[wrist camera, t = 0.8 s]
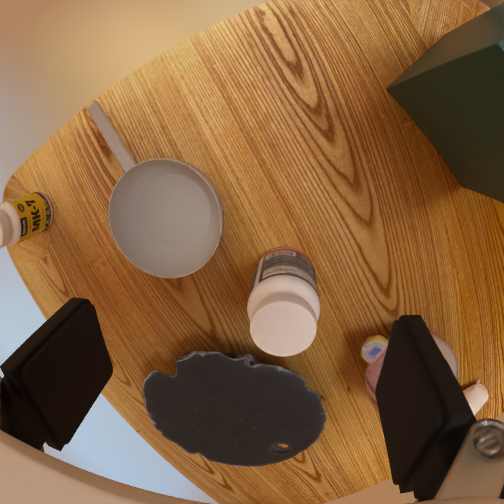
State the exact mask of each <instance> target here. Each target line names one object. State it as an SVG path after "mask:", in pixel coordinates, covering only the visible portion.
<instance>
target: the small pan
mask: <svg viewBox="0 0 504 504" xmlns="http://www.w3.org/2000/svg"><path fill="white" fill-rule="evenodd" d="M88 111H89V114H90V115H91V117H92V119H93V120H94V122H95V124H96V126H97V127H98V129H99V131H100V132H101V134H102V136H103V137H104V139H105V141H106V142H107V144H108V146H109V147H110V149H111V151H112V152H113V154H114V155H115V157H116V159H117V160H118V162H119V164H120V165H121V167H122V168H123V170H124V172H125V173H124V174H123V175H122V176H121V178H120V179H119V180H118V182H117V183H116V185H115V187H114V189H113V191H112V194H111V198H110V201H109V209H108V216H109V225H110V230H111V233H112V236H113V239H114V241H115V243H116V245H117V247H118V248H119V250H120V251H121V253H122V254H123V255H124V257H125V258H126V259H127V260H128V261H129V262H130V263H131V264H133V265H134V266H135V267H137V268H138V269H140V270H142V271H144V272H145V273H147V274H150V275H153V276H156V277H162V278H179V277H183V276H187V275H189V274H192V273H194V272H196V271H197V270H199V269H200V268H202V267H203V266H204V265H205V264H206V263H207V262H208V261H209V260H210V258H211V257H212V255H213V254H214V252H215V251H216V248H217V246H218V244H219V241H220V239H221V235H222V230H223V222H224V214H223V206H222V203H221V199H220V196H219V194H218V192H217V190H216V188H215V186H214V185H213V184H212V182H211V181H210V179H209V178H208V177H207V176H206V175H205V174H204V173H203V172H202V171H200V170H199V169H197V168H196V167H194V166H193V165H191V164H188V163H186V162H184V161H180V160H175V159H170V158H156V159H150V160H146V161H143V162H140V163H138V164H136V163H135V161H134V159H133V158H132V156H131V155H130V153H129V151H128V150H127V148H126V147H125V145H124V143H123V142H122V140H121V138H120V137H119V135H118V134H117V132H116V130H115V129H114V127H113V125H112V124H111V122H110V120H109V119H108V117H107V115H106V114H105V112H104V110H103V109H102V107H101V105H100V104H99V103H98V102H94V103H93V104H91V105H90V107H89V109H88Z"/></svg>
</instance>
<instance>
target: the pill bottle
mask: <svg viewBox="0 0 504 504" xmlns="http://www.w3.org/2000/svg"><path fill="white" fill-rule="evenodd" d="M247 312H248V317H249V320H250V322H251V323H250V333H251V337H252V339H253V341H254V343H255V344H256V345H257V346H258V347H259V348H260V349H261V350H263V351H264V352H266V353H268V354H271V355H275V356H292V355H296V354H298V353H301V352H302V351H304V350H305V349H307V348H308V347H309V346H310V345H311V344H312V342H313V341H314V338H315V336H316V331H317V321H318V318H319V314H320V300H319V294H318V288H317V283H316V277H315V271H314V268H313V265H312V263H311V261H310V260H309V258H308V257H307V256H306V255H305V254H303V253H302V252H300V251H298V250H296V249H293V248H285V247H284V248H277V249H274V250H271V251H270V252H268V253H266V254H265V255H264V256H263V257H262V258H261V259H260V261H259V263H258V264H257V267H256V270H255V274H254V278H253V282H252V287H251V290H250V294H249V298H248V304H247Z"/></svg>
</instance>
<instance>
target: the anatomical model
mask: <svg viewBox="0 0 504 504" xmlns="http://www.w3.org/2000/svg"><path fill="white" fill-rule="evenodd" d="M430 333H431V335H432V336H433V338H434V340H435V342H436V343H437V345H438V347H439V349H440V351H441V353H442V354H443V356H444V358H445V359H446V360H447V362H448V364H449V366H450V367H451V369H452V371H453V373H454V375H455V377H456V379H457V380H458V364H457V360H456V357H455V355H454V353H453V351H452V349H451V348H450V347H449V345H448V344H447V343H446V342H445V341H444V340H443V339H442V338H441V337H439V336H438V335H437V334H435V333H433V332H431V331H430ZM389 339H390V337H388V338H387V339H386V338H385V337H384V336H382V335H379V334H376V335H372V336H370V337H368V338H366V340H365V342H364V343H363V345H362V347H361V350H360V354H361V357H362V358H363V359H364V360H365V361H366V362H367V363H368V364H367V366H366V370H365V377H364V383H365V389H366V393H367V396H368V398H369V400H370V402H371V404H372V405H373V407H374V408H375V409H376V410H377V411H378V412H379V410H378V406H377V401H376V397H375V389H376V384H377V381H378V378H379V375H380V371H381V368H382V364H383V361H384V357H385V354H386V350H387V346H388V342H389Z"/></svg>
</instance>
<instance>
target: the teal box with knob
mask: <svg viewBox="0 0 504 504" xmlns="http://www.w3.org/2000/svg"><path fill="white" fill-rule="evenodd" d="M387 90H388V92H389V93H390V94H391V95H392V96H393V97H394V98H395V99H396V100H397V102H398V103H399V104H400V105H401V106H402V107H403V108H404V110H405V111H406V112H407V113H408V114H409V115H410V117H411V118H412V119H413V120H414V121H415V123H416V124H417V125H418V126H419V128H420V129H421V130H422V131H423V133H424V134H425V135H426V136H427V138H428V139H429V140H430V142H431V143H432V144H433V146H434V147H435V148H436V150H437V151H438V152H439V154H440V155H441V156H442V158H443V159H444V161H445V162H446V163H447V165H448V166H449V168H450V169H451V171H452V172H453V173H454V175H455V176H456V178H457V179H458V181H459V182H460V184H461V185H462V187H464V188H467V189H470V190H472V191H475V192H478V193H480V194H483V195H485V196H488V197H490V198H493V199H495V200H498V201H500V202H503V203H504V3H503V4H501V5H499V6H497V7H495V8H493V9H491V10H489V11H487V12H485V13H483V14H481V15H480V16H478V17H476V18H474V19H472V20H470V21H468V22H467V23H465V24H463V25H461V26H460V27H458V28H456V29H454V30H452V31H451V32H449V33H447V34H446V35H445V36H444V37H442V38H441V39H440V40H439V41H438V42H437V43H436V44H435V45H434V46H432V47H431V48H430V49H429V50H428V51H427V52H426V53H425V54H424V55H423V56H421V57H420V58H419V59H418V60H417V61H416V62H415V63H414V64H413V65H412V66H410V67H409V68H408V69H407V70H406V71H405V72H404V73H403V74H402V75H401V76H400V77H399V78H397V79H396V80H395V81H394V82H393V83H392V84H391V85H390V86H389V87H388V88H387Z"/></svg>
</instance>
